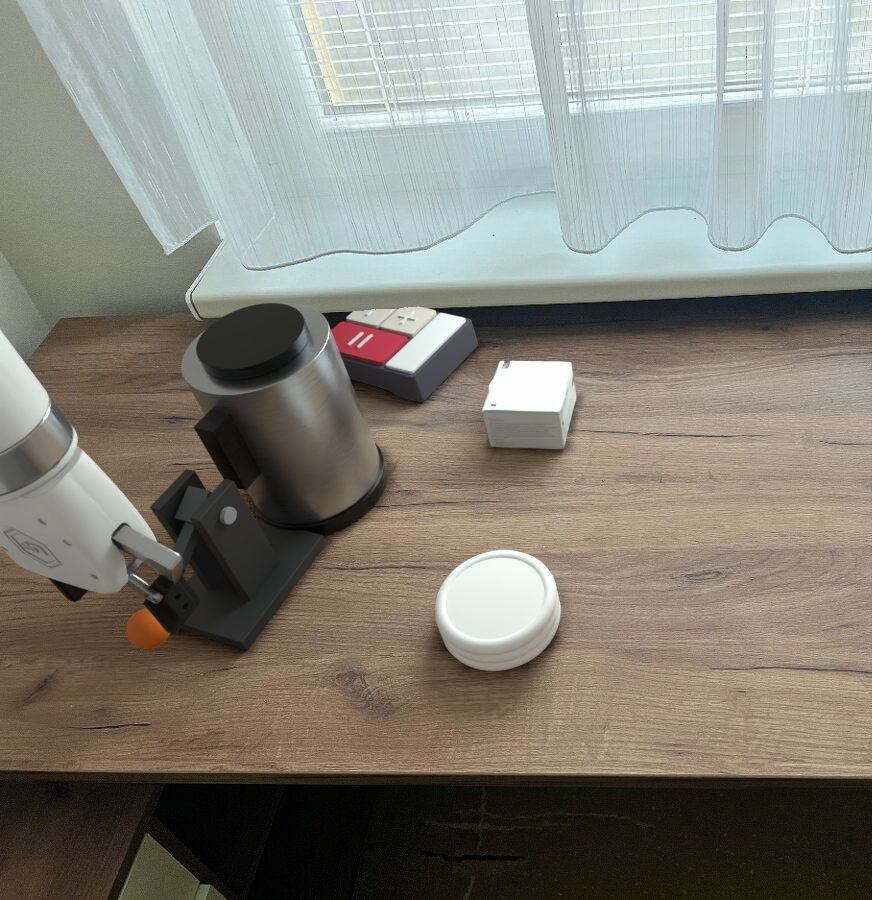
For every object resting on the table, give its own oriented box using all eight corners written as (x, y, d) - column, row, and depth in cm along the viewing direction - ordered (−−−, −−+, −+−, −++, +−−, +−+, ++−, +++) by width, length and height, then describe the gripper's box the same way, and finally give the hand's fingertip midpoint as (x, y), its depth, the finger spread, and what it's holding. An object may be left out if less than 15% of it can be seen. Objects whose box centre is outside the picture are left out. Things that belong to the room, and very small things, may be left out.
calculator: (369, 291, 103) (471, 313, 97) (381, 321, 106) (480, 344, 100) (306, 344, 97) (410, 372, 90) (320, 375, 100) (422, 403, 93)
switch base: (247, 650, 73) (186, 563, 65) (164, 624, 76) (95, 537, 68) (326, 543, 81) (281, 453, 72) (248, 522, 84) (196, 433, 75)
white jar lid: (477, 560, 77) (469, 535, 75) (580, 589, 74) (575, 563, 72) (420, 653, 71) (409, 629, 69) (530, 689, 68) (523, 664, 65)
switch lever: (170, 656, 69) (141, 650, 66) (139, 645, 70) (109, 639, 67) (235, 502, 73) (211, 490, 70) (205, 494, 74) (180, 482, 71)
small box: (565, 451, 86) (559, 412, 83) (489, 448, 88) (479, 410, 84) (578, 398, 92) (572, 360, 88) (506, 396, 93) (497, 359, 89)
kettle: (331, 567, 79) (252, 412, 65) (216, 535, 83) (121, 384, 70) (411, 454, 88) (357, 300, 75) (305, 431, 92) (236, 281, 79)
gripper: (-142, 460, 55) (16, 614, 67) (60, 518, 49) (192, 673, 62) (-44, 383, 60) (86, 539, 72) (150, 428, 54) (256, 589, 66)
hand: (135, 601), depth 67 cm, fingers open, 9 cm apart
